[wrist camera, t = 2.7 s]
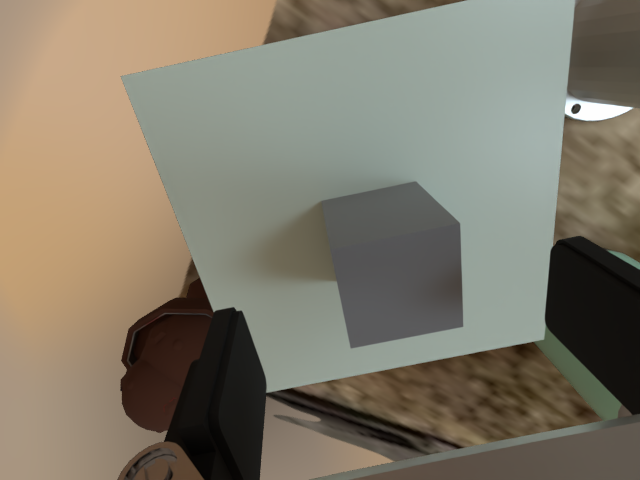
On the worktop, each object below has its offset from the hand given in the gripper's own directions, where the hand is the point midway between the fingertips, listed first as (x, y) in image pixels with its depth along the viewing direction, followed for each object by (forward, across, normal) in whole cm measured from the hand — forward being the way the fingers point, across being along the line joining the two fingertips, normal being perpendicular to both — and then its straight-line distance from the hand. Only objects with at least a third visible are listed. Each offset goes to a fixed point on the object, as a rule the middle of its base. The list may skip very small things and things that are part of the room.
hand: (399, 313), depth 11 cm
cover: (+24, -1, 0) cm, 24 cm away
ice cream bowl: (+25, +15, +13) cm, 32 cm away
